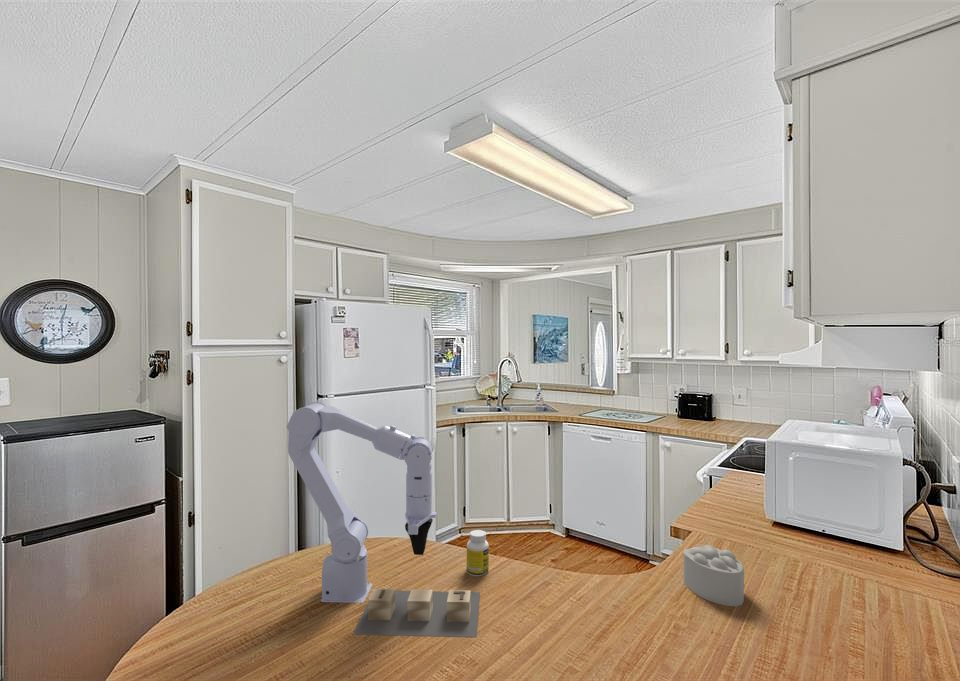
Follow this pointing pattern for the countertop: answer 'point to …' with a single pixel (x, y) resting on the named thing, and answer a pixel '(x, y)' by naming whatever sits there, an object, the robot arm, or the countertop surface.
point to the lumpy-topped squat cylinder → (714, 575)
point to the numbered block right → (459, 606)
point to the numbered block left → (381, 604)
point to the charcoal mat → (421, 628)
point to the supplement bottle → (477, 553)
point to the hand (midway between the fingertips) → (419, 553)
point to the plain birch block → (420, 605)
